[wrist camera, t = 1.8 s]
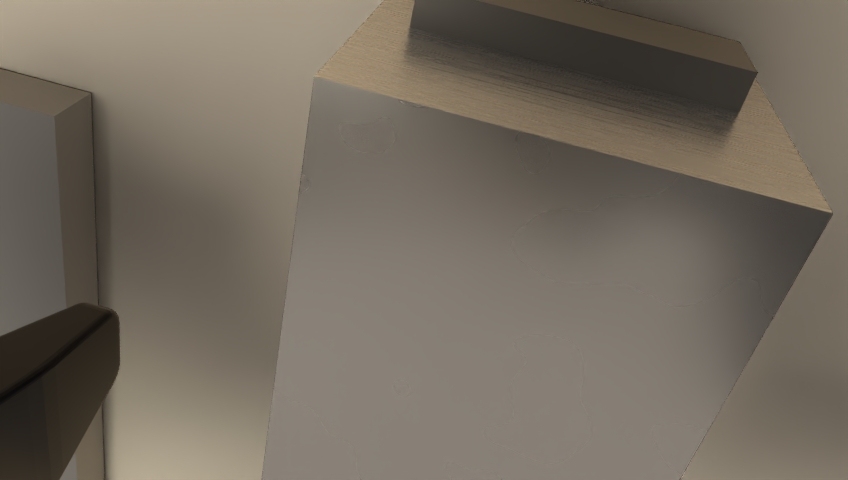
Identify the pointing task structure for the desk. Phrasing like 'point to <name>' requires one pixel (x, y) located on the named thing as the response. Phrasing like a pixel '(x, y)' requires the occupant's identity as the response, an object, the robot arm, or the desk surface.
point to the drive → (529, 246)
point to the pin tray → (48, 218)
